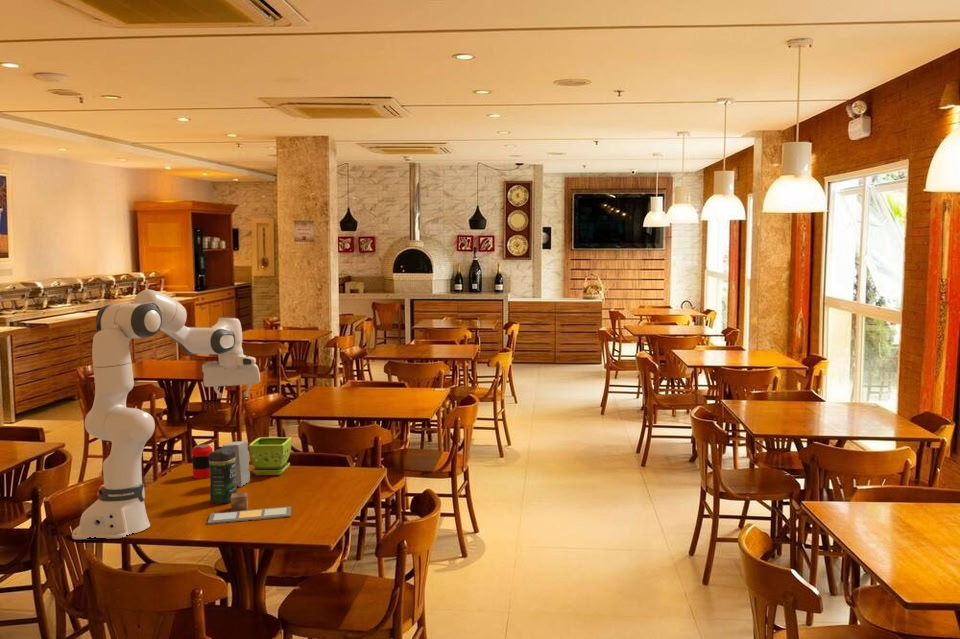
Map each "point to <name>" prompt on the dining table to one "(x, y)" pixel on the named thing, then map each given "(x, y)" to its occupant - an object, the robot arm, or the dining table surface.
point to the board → (249, 515)
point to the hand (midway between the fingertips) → (233, 397)
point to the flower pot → (270, 455)
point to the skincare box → (241, 462)
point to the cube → (239, 501)
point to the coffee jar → (222, 475)
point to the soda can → (201, 461)
